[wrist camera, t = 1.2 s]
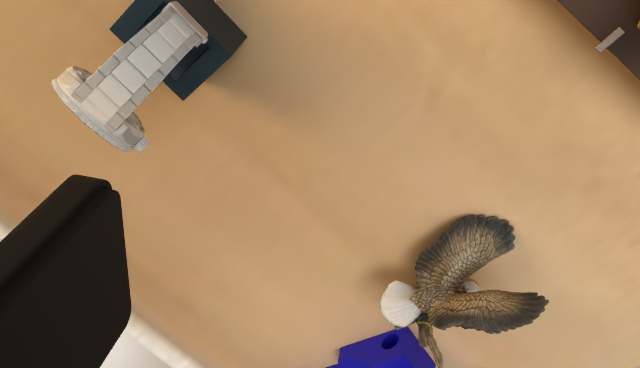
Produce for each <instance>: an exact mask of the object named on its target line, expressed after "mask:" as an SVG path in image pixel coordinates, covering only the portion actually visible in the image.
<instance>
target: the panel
mask: <svg viewBox="0 0 640 368" xmlns="http://www.w3.org/2000/svg"><path fill="white" fill-rule="evenodd" d="M557 1H558V2H560V3H561V4H562V5H563V6H564V7H565V8H566V9H567V10H568V11H569V12H570V13H571V14H572V15H573V16H574V17H575V18H576V19H577V20H578V21H579V22H580V23H581V24H582V25H583V26H584V27H585V28H587V29H588V30H589V31H590V32H591V33H592V34H593V35H594V36H595V37H596V38H597V39H598V40H599V41H600V42H601V43H599V44H598V45H597V46H596V47H595V49H596V50H597V51H598V52H599V53H601V52H602V51H603V50H605V49H606V48H607V49H608V50H609V51H610V52H611V53H612V54H614V55H615V56H616V57H617V58H618V59H619V60H620V61H621V62H622V63H623V64H624V65H625V66H626V67H627V68H628V69H629V70H630V71H631V72H632V73H633V74H634V75H635V76H636V77H637V78H638V79H639V80H640V29H639V28H638V27H637V25H638V23H639V21H640V0H557Z"/></svg>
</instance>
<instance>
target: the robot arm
mask: <svg viewBox="0 0 640 368" xmlns="http://www.w3.org/2000/svg"><path fill="white" fill-rule="evenodd" d="M130 314H131V298H130V288H129V278H128V268H127V258H126V248H125V238H124V228H123V218H122V208H121V199H120V194H119V193H118V192H117V191H116V190H112V187H111V184H110V183H109V182H108V181H107V180H103V179H98V178H92V177H87V176H82V175H72V176H70V177H69V178H68V179H66V180H65V181H64V182H63V183H62V184H61V185H60V186H59V187H58V188H57V189H56V190H55V191H54V192H53V193H52V194H51V195H49V196H48V197H47V198H46V199H45V200H44V201H43V202H42V203H41V204H40V205H39V206H38V207H37V208H36V209H35V210H34V211H33V212H31V213H30V214H29V215H28V216H27V217H26V218H25V219H24V220H23V221H22V222H21V223H20V224H19V225H18V226H17V227H16V228H14V229H13V230H12V231H11V232H10V233H9V234H8V235H7V236H6V237H5V238H4V239H3V240H2V241H1V242H0V368H100V366H101V365H102V363H103V362H104V360H105V358H106V357H107V355H108V354H109V352H110V351H111V349H112V348H113V346H114V345H115V343H116V341H117V340H118V338H119V337H120V335H121V334H122V332H123V331H124V329H125V327H126V326H127V324H128V321H129V318H130Z"/></svg>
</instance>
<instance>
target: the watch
mask: <svg viewBox="0 0 640 368" xmlns="http://www.w3.org/2000/svg"><path fill="white" fill-rule="evenodd" d="M110 30H111V31H112V32H113V33H114V34H115V35H116V36H117V37H118V38H119V39H120V40H121V41H122V42H123V43H124V45H123V46H122V47H121V48H119V49H118V50H117V51H116V52H115V53H114V54H113V55H114V56H115V57H116V58H117V59H118V60H119V61H118V60H117V59H116V58H115V57H114V56H113V55H112V56H111V57H110V58H109V59H108V60H107V61H106V62H105V63H104V64H102V65H101V66H100V67H99V68H98V70H97V71H96V72H95V73H93V74H91V73H89V72H88V71H86V70H84V69H82V68H79V67H76V66H71V67H69V68H68V69H66V70H65V71H64V72H63V73H62V74H61V75H60V76H59V78H55V79H54V80H53V81H52V86H53V88H54V90H55V92H56V93H57V95H58V96H59V97H60V98H61V100H62V101H63V102H64V103H65V104H66V105H67V106H68V107H69V109H70V110H71V111H72V112H73V113H74V114H75V115H76V116H77V117H79V118H80V119H81V120H82V122H83V123H84V124H85V125H87V126H88V127H90V128H91V129H92V130H93V131H94V132H96V133H97V134H98V135H99V136H101V137H102V138H103V139H105V140H106V141H107V142H109V143H110V144H112V145H113V146H115V147H117V148H118V149H120V150H123V151H125V152H130V151H131V150H132V149H133V145H135V146H134V148H135V149H136V150H137V151H138V152H141V151H142V150H143V149H144V148H145V147H146V146H147V145H148V144H149V142H150V141H148V140H147V139H146V138H145V137H143V134H144V132H145V131H144V128H143V126H142V123H141V121H140V120H139V119H138V116H137V115H136V114H135V113H134V112H133V111H134V110H135V109H136V108H137V107H138V106H139V105H140V104H141V103H142V102H143V100H144V99H145V98H146V97H147V96H148V95H149V94H150V93H151V92H152V91H153V90H154V89H155V88H156V87H157V86H158V85H159V84H160V82H161V81H163V82H164V83H165V84H166V85H167V86H168V87H169V88H170V89H171V90H172V91H173V92H174V93H175V94H176V95H178V96H179V97H180V98H181V99H182V100H183V101H184V100H185V99H186V98H187V97H188V96H189V95H190V94H191V93H192V92H193V91H194V90H195V89H196V88H198V87H199V86H200V85H201V84H202V83H203V82H204V81H205V80H206V79H207V78H208V77H209V76H210V75H212V74H213V73H214V72H215V71H216V70H217V69H218V68H219V67H220V66H221V65H222V64H223V63H224V62H226V61H227V60H228V59H229V58H230V57H231V56H232V55H233V54H234V52H235V51H236V50H237V49H238V47H239V46H240V45H241V44H242V43H243V41H244V40H245V39H246V38H247V36H246V35H245V34H244V33H243V32H242V31H241V30H240V29H239V28H238V27H237V25H236V24H235V23H234V22H233V21H232V20H231V19H230V18H229V17H228V16H227V15H226V14H225V13H224V12H223V11H222V10H221V8H220V7H219V6H218V5H217V4H216V3H215V2H214V1H213V0H135V1H134V2H133V3H132V4H131V5H130V7H129V8H128V9H127V10H126V11H125V12H124V13H123V14H122V16H121V17H120V18H119V19H118V20H117V21H116V22H115V23H114V25H113V26H112V27H111V28H110ZM142 137H143V138H142Z"/></svg>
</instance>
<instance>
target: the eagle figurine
mask: <svg viewBox="0 0 640 368" xmlns="http://www.w3.org/2000/svg"><path fill="white" fill-rule="evenodd" d="M513 231H514V227H513V226H511V225H509V221H507V220H499V218H498V217H490V218H488V219H486V216H485V215H481V216H479V217H477V216H476V215H471V216H468V217H465V218H464V219H460V220H458V221H457V222H456V223H455V224H452V225H451V226H450V228H449V230H447V231H445V232H444V233H442V235H441V237H440V239H437V240H436V242H434V243H433V244H432V245H431V247H430V248H429V247H427V248H426V249H425V250H423V251H422V253H421V254H420V255H419V258H418V260H417V261H416V266H415V269H416V271H417V274H416V277H417V278H418V281H417V282H416V283H417V285H418V287H413V286H411V285H408V284H405V283H403V282H401V281H396V280H395V281H393V282H391V283H390V284H389V285H388V287H387V289H386V290H385V292H384V293H383V294H382V296H381V304H380V309H381V311H382V314H383V316H384V317H385V318H386V319H387V320H388V321H389V322H391V323H392V324H394V325H395V329H396V330H399V329H401V328H403V327H407V326H409V325H410V324H413V323H415V322H417V324H418V328H419V345H420V346H421V347H423V346H424V347H427V344H428V346H429V347H430V349H431V351H432V353H433V355H434V358H435V361H436V364H437V366H438V367H439V368H442V367H443V360H442V354H441V352H440V351H439V349H438V347H437V344H436V341H435V339H434V338H433V335H432V332H433V329H432V325H433V326H434V327H436V328H438V329H442V330H445V329H446V328H450V327H452V326H456V327H459V326H460V327H462V328H464V329H468V328H469V329H476V330H477V331H480V330H484V331H485V332H487V333H489V334H493V333H498V334H499V333H501V331H502V330H503V331H505V332H506V331H508V330H509V329H512V330H513V329H516V328H517V327H521V326H524V325H526V324H530V323H532V322H533V320H534V319H536V318H538V317H539V315H540V313H542V312H544V310H545V308H544V306H546V305H547V304H548V303H549V300H545V297H544V296H537V295H538V293H530V292H529V293H518V292H508V291H500V290H486V291H478V283H475V282H474V281H468V282H465V281H466V280H467V279H468V278H469V277H470V276H471V275H472V274H473V273H474V272H476V271H477V270H479V269H480V268H482V267H483V266H485V265H486V264H487V263H488V262H490V261H491V260H493V259H495V258H497V257H499V256H501V255H503V254H505V253H507V252H509V251H510V250H512V249H513V248H514V244H513V241H514V239H515V236H514V235H513V234H512V232H513ZM477 291H478V292H477Z"/></svg>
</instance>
